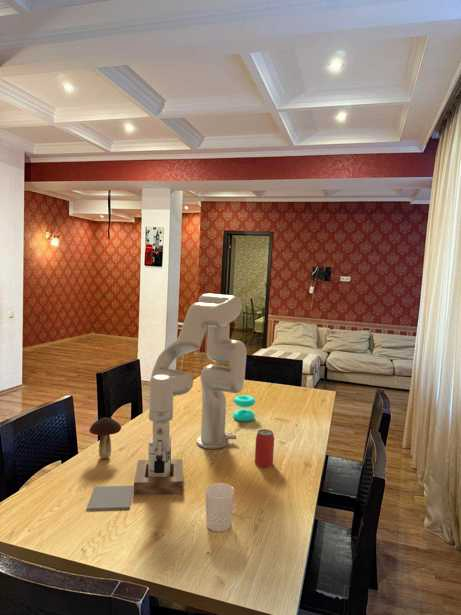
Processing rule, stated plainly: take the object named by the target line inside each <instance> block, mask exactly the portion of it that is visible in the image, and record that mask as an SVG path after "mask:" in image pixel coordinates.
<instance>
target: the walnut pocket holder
mask: <svg viewBox="0 0 461 615" xmlns="http://www.w3.org/2000/svg"><path fill="white" fill-rule="evenodd" d="M183 465H184V464H183V459H182V458H181V459H179V458H178V459H176V458H175V459H171V477H148V459H138V460H137V463H136V469H135V475H134V481H133V496H145V495H146V496H147V495H176V494H177V495H179V494H181V495H182V494H183V493H184V466H183Z"/></svg>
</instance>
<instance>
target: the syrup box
mask: <svg viewBox="0 0 461 615" xmlns="http://www.w3.org/2000/svg"><path fill="white" fill-rule="evenodd" d="M147 448H148V450H147V451H148V453H147V454H148V455H147V456H148V459H147V460H148V475H147V477H172V475H171V460H172V437H171V436H169V451H168V452H165V451H164V460H165V466H164V473H154V460H155V452H154V451H153V438H151V439H150V441H149V442H148V447H147ZM157 451H158V449H157ZM162 451H163V448H162ZM161 455H162V453H161Z"/></svg>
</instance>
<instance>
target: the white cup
mask: <svg viewBox="0 0 461 615" xmlns="http://www.w3.org/2000/svg"><path fill="white" fill-rule="evenodd" d="M234 498H235V488H234V487H233V486H232V485H229V484H227V483H224V482H216V483H211V484H208V485H207V487H205V516H206V527H207V528H208V530H211V531H213V532H216V531H217V532H219V533H221V531H222V532H225V530H226V531H228V530H229V529H230V527H231V525H232V517H233V511H234ZM217 532H216V533H217Z"/></svg>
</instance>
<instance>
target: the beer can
mask: <svg viewBox="0 0 461 615" xmlns="http://www.w3.org/2000/svg"><path fill="white" fill-rule="evenodd" d="M274 448H275V436H274V432H273V431H272V430H270V429H264V428H262V429H260V430H257V433H256V437H255V452H254V463H255V465H256V466H258V467H260V468H267V469H268V468H270V467H272V466H273V464H274V450H275V449H274Z"/></svg>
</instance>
